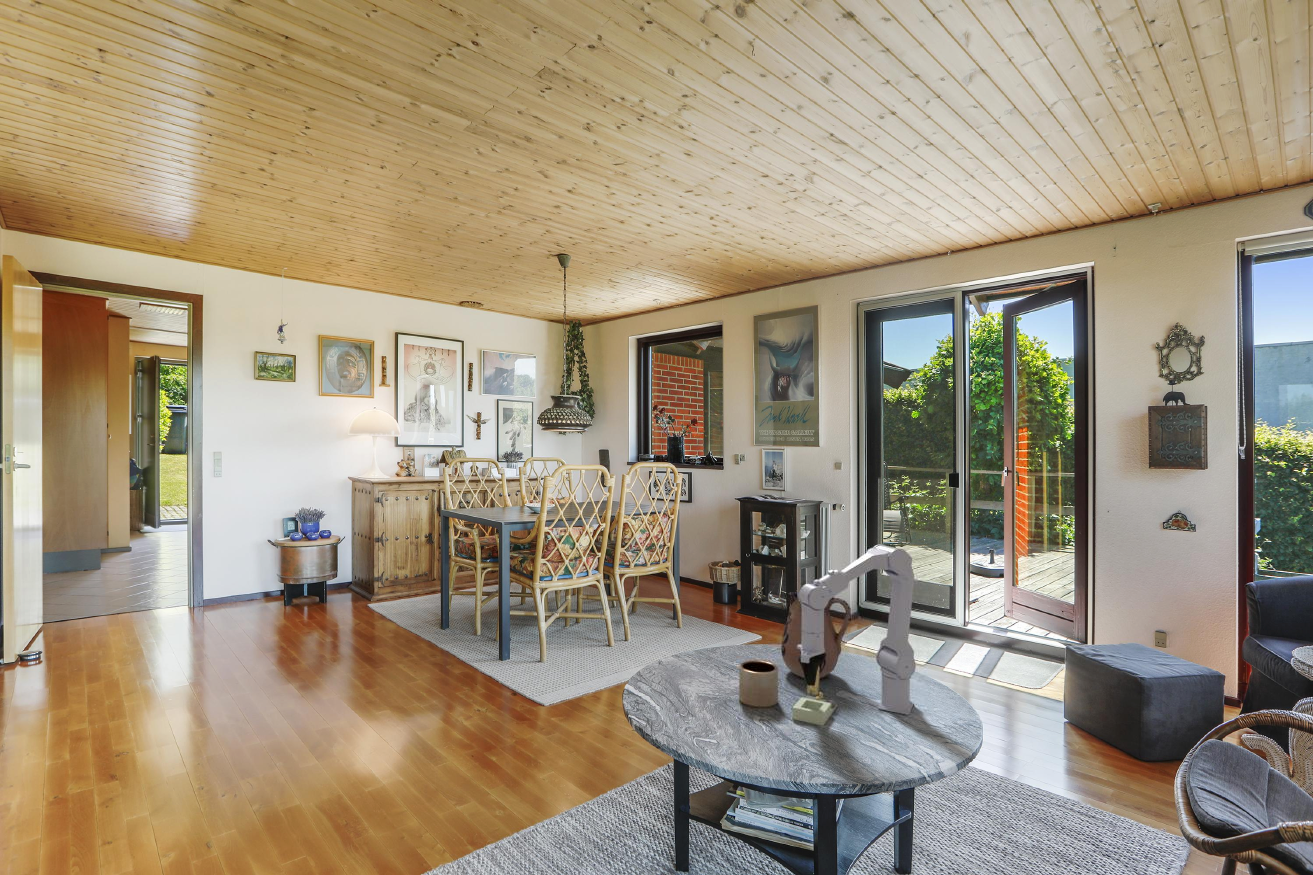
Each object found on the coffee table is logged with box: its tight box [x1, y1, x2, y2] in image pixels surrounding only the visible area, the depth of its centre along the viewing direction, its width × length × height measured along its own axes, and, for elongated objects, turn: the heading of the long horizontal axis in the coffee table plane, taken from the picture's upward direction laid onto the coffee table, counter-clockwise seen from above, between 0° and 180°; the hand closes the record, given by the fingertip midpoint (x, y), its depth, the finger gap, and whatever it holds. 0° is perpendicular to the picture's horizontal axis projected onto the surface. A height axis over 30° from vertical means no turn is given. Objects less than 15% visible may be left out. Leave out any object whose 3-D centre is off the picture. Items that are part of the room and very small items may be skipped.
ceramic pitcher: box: [780, 591, 852, 679], centre depth 200 cm, size 18×21×25 cm
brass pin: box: [806, 666, 820, 696], centre depth 168 cm, size 3×3×7 cm
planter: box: [738, 659, 779, 709], centre depth 179 cm, size 11×11×10 cm
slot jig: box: [792, 691, 838, 727], centre depth 170 cm, size 14×8×3 cm, turn 151°
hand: (812, 682), depth 168 cm, fingers closed on brass pin, 3 cm apart
